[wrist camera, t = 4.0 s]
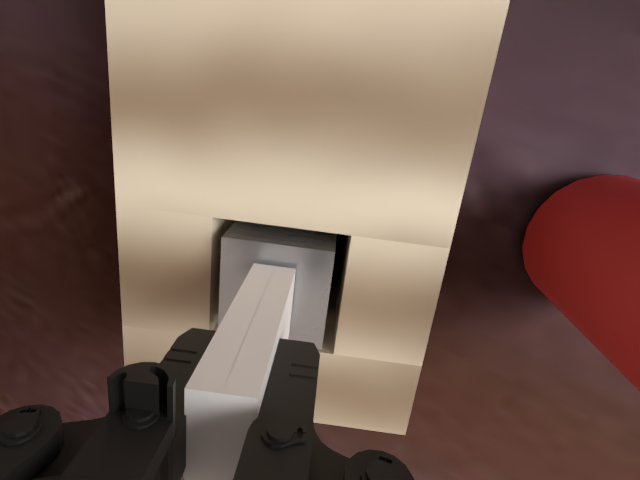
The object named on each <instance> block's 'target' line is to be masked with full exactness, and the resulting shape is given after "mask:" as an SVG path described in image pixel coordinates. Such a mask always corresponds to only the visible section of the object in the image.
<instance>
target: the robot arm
mask: <svg viewBox="0 0 640 480" xmlns="http://www.w3.org/2000/svg"><path fill="white" fill-rule="evenodd" d="M295 273H296V269H294V268H286V267H279V266H271V265H264V264H256V263H254V264H253V266H252V267H251V269H250V271H249V273H248V275H247V276H246V278H245V280H244V282H243V284H242V286H241V287H240V289H239V291H238V293H237V295H236V296H235V298H234V300H233V302H232V304H231V305H230V307H229V309H228V311H227V313H226V314H225V316H224V318H223V320H222V322H221V323H220V325H219V327H218V329H217V331H214V330H206V329H199V328H191V329H189V330H188V331H186V332H185V333H183V334H181V335H180V336H178V338H177V339H176V340H175V342H174V343H173V345H172V346H171V348H170V351H168V352H167V353H166V355H165V356H164V358H163V360H161V362H160V363H156V362H139V363H134V364H129V365H127V366H125V367H122V368H120V369H118V370H116V371H115V372H114V373H112V374H111V375H110V376H109V377H108V378H107V384H108V399H109V412H108V414H107V415H106V416H105V417H103V418H98V419H93V420H86V421H77V422H68V423H62V419H61V416H60V412H59V411H57V410H56V409H54V408H53V407H51V406H45V405H30V406H23V407H20V408H17V409H14V410H10V411H8V412H6V413H4V414H2V415H0V480H180V479H181V477H182V474H183V472H184V480H414V478H413V476H412V474H411V473H410V471H409V470H408V468H407V467H406V465H405V464H403V463H402V462H401V461H400V460H399V459H397V458H396V457H395V456H393V455H391V454H388V453H386V452H384V451H379V450H365V451H361V452H358V453H356V454H355V455H354V456H352V457H351V458H348V457H345V456H343V455H341V454H339V453H337V452H335V451H333V450H331V449H330V448H328V447H327V446H326V445H325V444H324V443H322V442H321V440H320V439H319V437H318V436H317V434H316V432H315V429H314V422H313V419H314V409H315V400H316V390H317V379H318V370H319V360H320V354H319V352H318V350H317V348H316V346H315V344H314V343H311V342H304V341H297V340H289V339H288V337H289V330H290V320H291V311H292V301H293V292H294V282H295Z"/></svg>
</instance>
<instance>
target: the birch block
mask: <svg viewBox="0 0 640 480" xmlns="http://www.w3.org/2000/svg"><path fill="white" fill-rule="evenodd" d="M509 2H510V0H105V15H106V34H107V52H108V71H109V89H110V108H111V126H112V145H113V163H114V182H115V200H116V219H117V237H118V256H119V274H120V293H121V311H122V330H123V348H124V367H125V366H127V365H129V364H134V363H139V362H156V363H160V362H161V360H163V358H164V356H165V355H166V353H167V352H168V351H170V348H171V346H172V345H173V343H174V342H175V340H176V339H177V338H178V336H180V335H181V334H183V333H185V332H186V331H188V330H189V329H191V328H199V329H206V330H214V331H217V329H218V314H219V287H220V260H221V237H222V236H223V235H224V234H225V232H226V231H227V230H228V229H229V228H230V227H231V226H232V225H233V223H234V222H235V221H243V222H251V223H259V224H266V225H274V226H282V227H289V228H297V229H305V230H312V231H320V232H327V233H335V234H343V235H345V236H344V242H343V249H342V256H341V263H340V270H339V277H338V284H337V287H330V294H329V301H328V308H327V315H326V323H325V330H324V337H323V344H322V350H321V349H317V350H318V352H319V354H320V360H319V370H318V379H317V390H316V400H315V409H314V419H313V422H315V423H322V424H329V425H337V426H344V427H351V428H358V429H365V430H372V431H380V432H387V433H394V434H401V435H405V434H406V430H407V425H408V421H409V417H410V413H411V409H412V405H413V401H414V396H415V392H416V388H417V384H418V380H419V376H420V372H421V367H422V363H423V359H424V355H425V351H426V347H427V343H428V338H429V334H430V330H431V326H432V322H433V318H434V313H435V309H436V305H437V301H438V297H439V293H440V289H441V284H442V280H443V276H444V272H445V268H446V264H447V260H448V255H449V251H450V247H451V243H452V239H453V235H454V231H455V226H456V222H457V218H458V214H459V210H460V206H461V202H462V197H463V193H464V189H465V185H466V181H467V177H468V172H469V168H470V164H471V160H472V156H473V152H474V148H475V143H476V139H477V135H478V131H479V127H480V123H481V119H482V114H483V110H484V106H485V102H486V98H487V94H488V90H489V85H490V81H491V77H492V73H493V69H494V65H495V61H496V56H497V52H498V48H499V44H500V40H501V36H502V31H503V27H504V23H505V19H506V15H507V11H508V7H509Z"/></svg>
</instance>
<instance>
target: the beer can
mask: <svg viewBox="0 0 640 480" xmlns="http://www.w3.org/2000/svg"><path fill="white" fill-rule="evenodd" d="M522 251H523V259H524V267H525V269H526V271H527V273H528V275H529V277H530V279H531V280H532V282H533V284H534V285H535V286H536V287H537V288H538V289H539V290H540V291H541V292H542V293H543V294H544V295H545V296H546V297H547V298H548V299H549V300H550V301H551V302H552V303H553V304H554V305H555V306H556V307H557V308H558V309H559V310H560V311H561V312H562V313H563V314H564V315H565V316H566V317H567V318H568V319H569V320H570V321H571V322H572V323H573V324H574V325H575V326H576V327H577V328H578V329H579V330H580V331H581V332H582V333H583V334H584V335H585V336H586V337H587V338H588V339H589V340H590V341H591V343H592V344H593V345H594V346H595V347H596V348H597V349H598V350H599V351H600V352H601V353H602V354H603V355H604V356H605V357H606V358H607V359H608V360H609V361H610V362H611V363H612V364H613V365H614V366H615V367H616V368H617V369H618V370H619V371H620V372H621V373H622V374H623V375H624V376H625V377H626V378H627V379H628V380H629V381H630V382H631V383H632V384H633V385H634V386H635V387H636V388H637V389H638V390H639V391H640V180H638V179H635V178H631V177H628V176H621V175H603V174H601V175H597V176H593V177H589V178H585V179H580V180H577V181H575V182H573V183H571V184H569V185H568V186H566V187H564V188H562V189H560V190H558V191H557V192H555V193H554V194H553V195H552V196H551V197H549V198H548V199H547V200H546V201H545V202H544V203H543V204H542V205H541V206H540V207H539V208H538V209H537V211H536V213H535V214H534V216H533V218H532V219H531V221H530V223H529V224H528V226H527V229H526V233H525V237H524V242H523V246H522Z"/></svg>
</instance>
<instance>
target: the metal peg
mask: <svg viewBox="0 0 640 480" xmlns="http://www.w3.org/2000/svg"><path fill="white" fill-rule="evenodd" d="M336 236H337V234H335V233H327V232H320V231H312V230H305V229H297V228H289V227H282V226H274V225H266V224H259V223H251V222H243V221H235V222H234V223H233V225H232V226H231V227H230V228H229V229H228V230H227V231H226V232H225V234H224V235H223V236H222V237H221V260H220V287H219V314H218V327H219V325H220V323H221V322H222V320H223V318H224V316H225V314H226V313H227V311H228V309H229V307H230V305H231V304H232V302H233V300H234V298H235V296H236V295H237V293H238V291H239V289H240V287H241V286H242V284H243V282H244V280H245V278H246V276H247V275H248V273H249V271H250V269H251V267H252V266H253V264H254V263H256V264H264V265H271V266H279V267H286V268H294V269H296V273H295V282H294V292H293V301H292V311H291V320H290V330H289V337H288V339H289V340H297V341H304V342H311V343H314V344H315V346H316V348H317V349H321V350H322V344H323V337H324V330H325V323H326V315H327V308H328V301H329V294H330V287H331V280H332V272H333V265H334V258H335V250H336Z"/></svg>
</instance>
